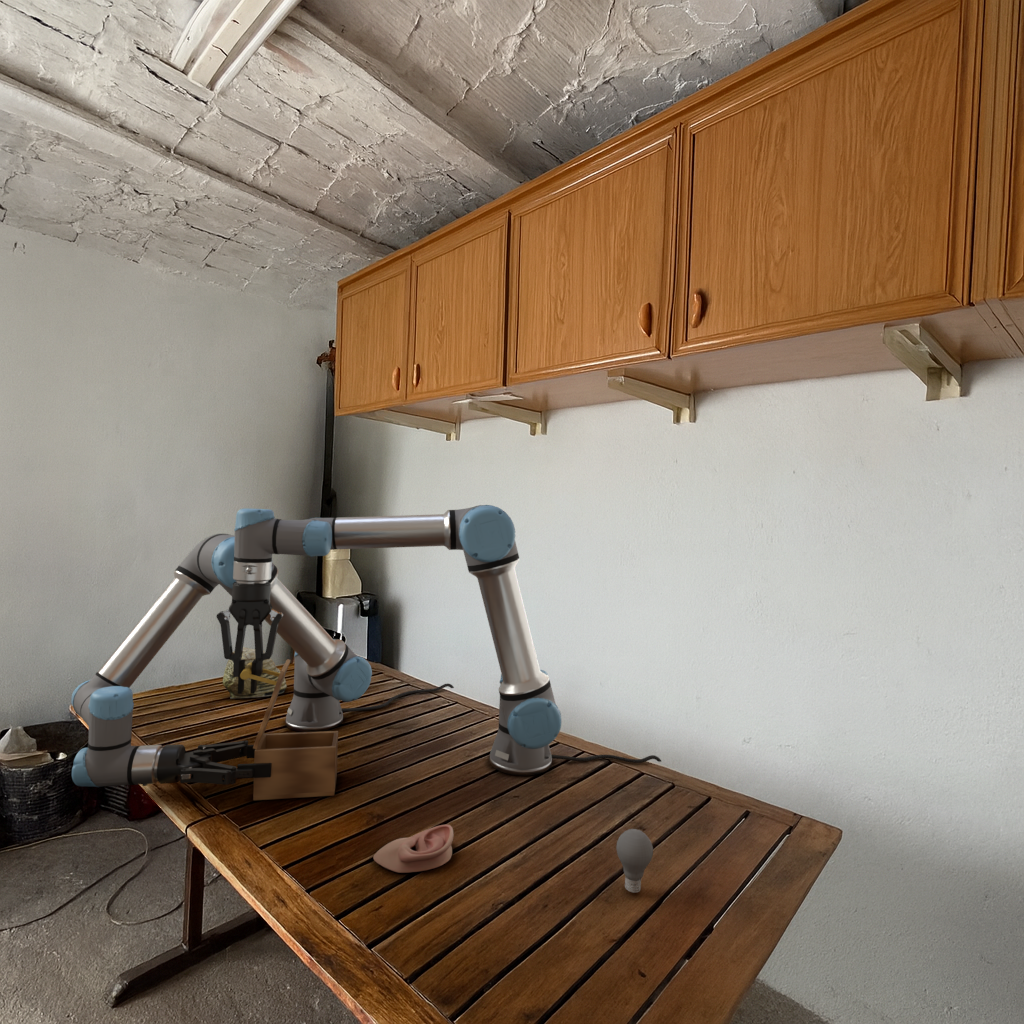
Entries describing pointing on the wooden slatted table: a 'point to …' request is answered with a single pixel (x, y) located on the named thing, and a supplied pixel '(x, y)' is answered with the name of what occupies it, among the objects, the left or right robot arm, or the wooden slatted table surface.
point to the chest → (297, 765)
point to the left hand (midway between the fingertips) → (274, 759)
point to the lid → (247, 674)
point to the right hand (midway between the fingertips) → (247, 691)
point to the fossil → (262, 687)
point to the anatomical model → (417, 851)
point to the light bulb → (634, 857)
